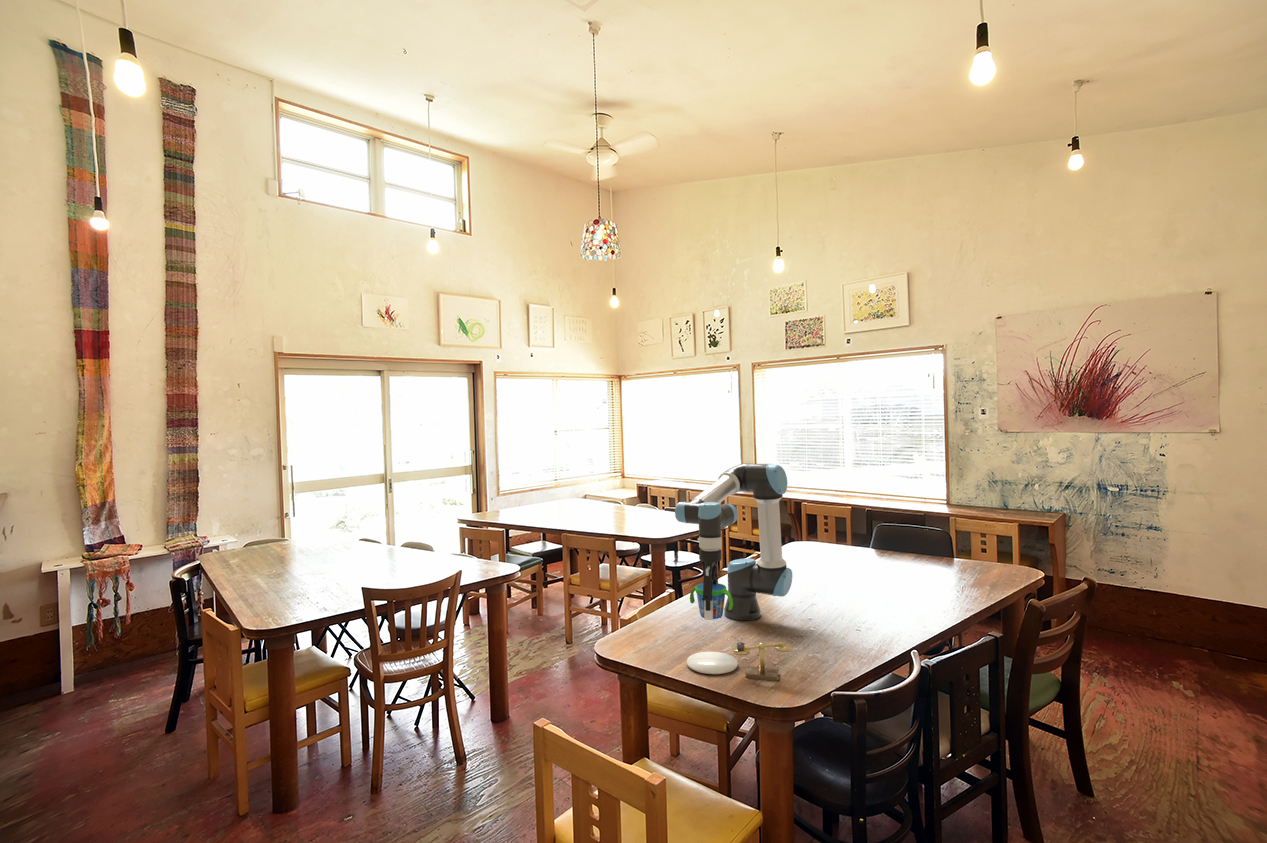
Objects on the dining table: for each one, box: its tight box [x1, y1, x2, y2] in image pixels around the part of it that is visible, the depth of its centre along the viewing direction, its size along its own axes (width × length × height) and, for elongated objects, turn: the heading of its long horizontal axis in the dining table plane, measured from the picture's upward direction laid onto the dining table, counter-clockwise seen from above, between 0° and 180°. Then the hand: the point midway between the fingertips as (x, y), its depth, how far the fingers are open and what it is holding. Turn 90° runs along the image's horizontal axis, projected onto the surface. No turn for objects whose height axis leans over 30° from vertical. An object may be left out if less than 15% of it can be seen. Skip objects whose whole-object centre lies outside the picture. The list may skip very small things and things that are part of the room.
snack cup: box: [689, 582, 733, 620], centre depth 204 cm, size 16×10×10 cm
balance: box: [731, 641, 794, 682], centre depth 196 cm, size 6×20×11 cm, turn 73°
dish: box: [686, 651, 739, 675], centre depth 204 cm, size 17×17×1 cm
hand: (711, 614), depth 204 cm, fingers closed on snack cup, 9 cm apart
